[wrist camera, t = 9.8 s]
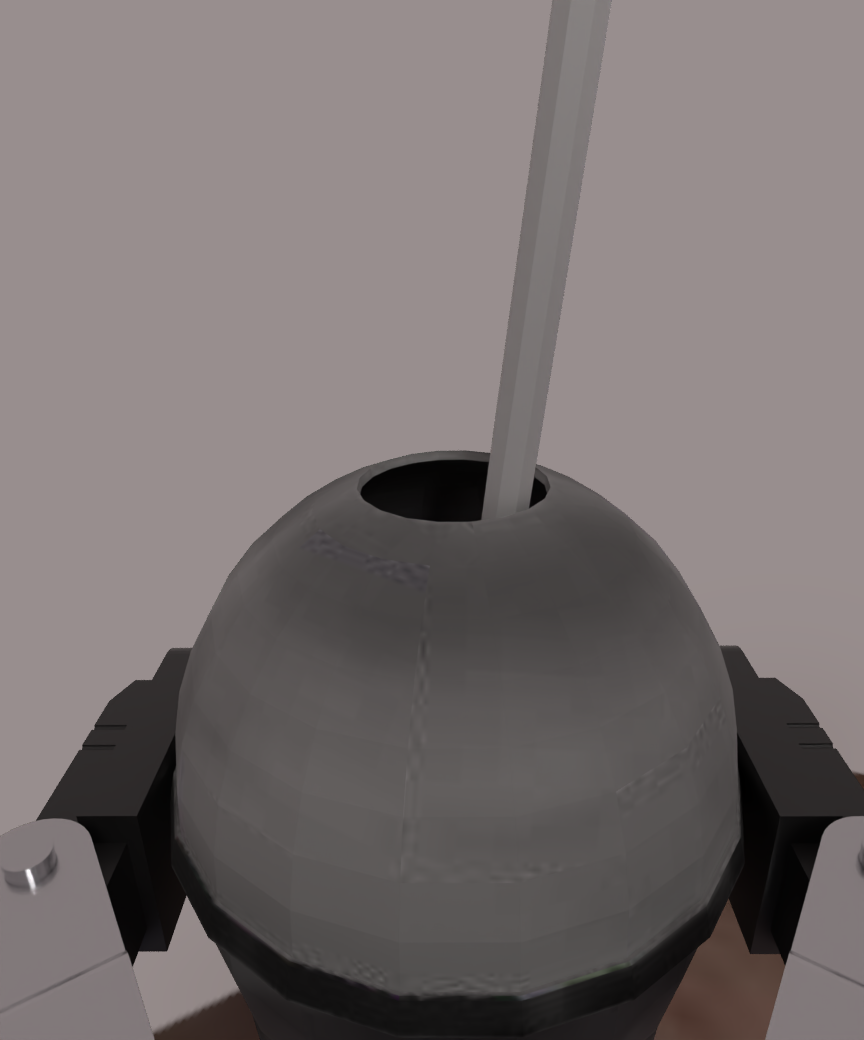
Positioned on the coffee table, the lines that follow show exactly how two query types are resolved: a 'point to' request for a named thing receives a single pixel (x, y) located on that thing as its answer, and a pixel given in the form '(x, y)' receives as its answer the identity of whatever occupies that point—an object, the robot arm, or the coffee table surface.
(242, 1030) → the coffee table surface
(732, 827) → the beverage cup
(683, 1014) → the coffee table surface
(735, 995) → the coffee table surface
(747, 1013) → the coffee table surface
